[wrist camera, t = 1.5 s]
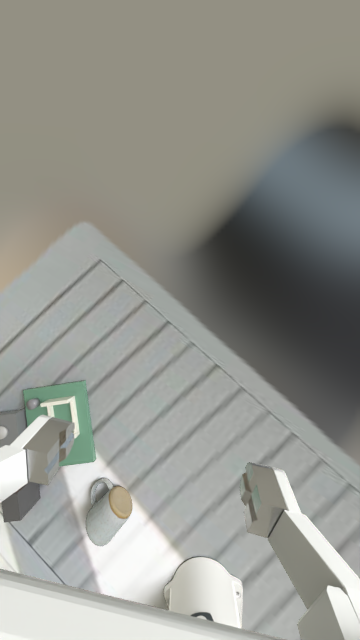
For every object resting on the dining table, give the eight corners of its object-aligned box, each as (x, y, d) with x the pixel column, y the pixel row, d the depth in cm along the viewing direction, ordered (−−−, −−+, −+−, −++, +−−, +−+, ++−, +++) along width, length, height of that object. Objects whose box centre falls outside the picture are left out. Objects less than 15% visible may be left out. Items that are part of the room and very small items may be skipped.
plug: (40, 498, 52) (20, 520, 46) (25, 499, 52) (4, 522, 46) (37, 471, 52) (16, 490, 46) (22, 473, 52) (0, 492, 46)
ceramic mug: (138, 497, 50) (128, 528, 43) (116, 522, 50) (103, 556, 43) (107, 467, 51) (92, 491, 44) (86, 491, 51) (68, 519, 44)
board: (95, 458, 51) (87, 470, 47) (36, 466, 52) (22, 478, 48) (85, 380, 52) (75, 384, 48) (26, 389, 53) (12, 394, 49)
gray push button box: (29, 439, 52) (17, 447, 49) (0, 443, 53) (-14, 451, 49) (25, 408, 53) (13, 414, 49) (-3, 412, 53) (-17, 418, 50)
